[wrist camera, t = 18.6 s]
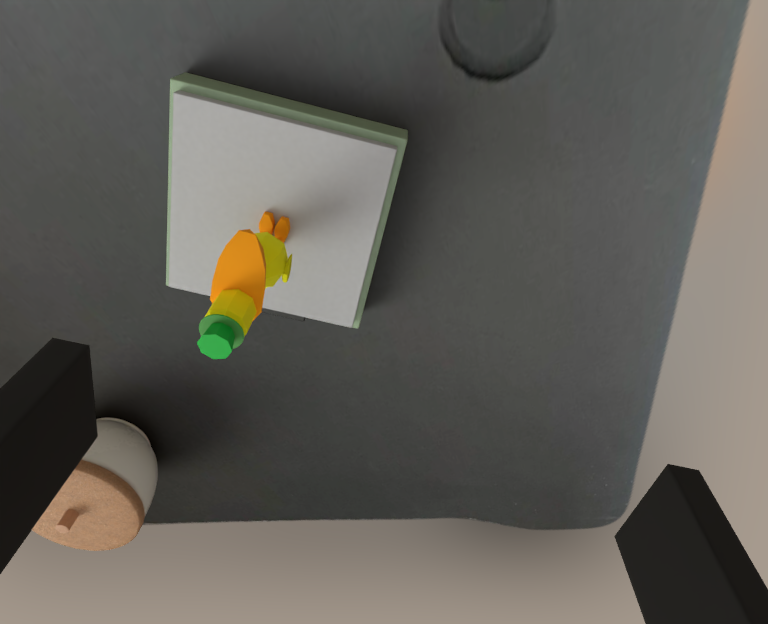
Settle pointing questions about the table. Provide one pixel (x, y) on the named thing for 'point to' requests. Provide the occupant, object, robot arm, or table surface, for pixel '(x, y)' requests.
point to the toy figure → (243, 284)
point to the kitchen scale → (279, 192)
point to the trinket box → (104, 491)
